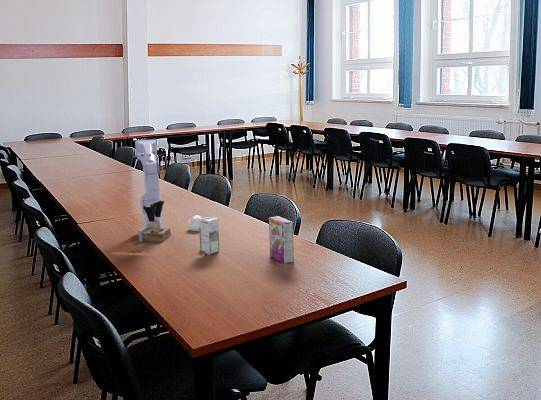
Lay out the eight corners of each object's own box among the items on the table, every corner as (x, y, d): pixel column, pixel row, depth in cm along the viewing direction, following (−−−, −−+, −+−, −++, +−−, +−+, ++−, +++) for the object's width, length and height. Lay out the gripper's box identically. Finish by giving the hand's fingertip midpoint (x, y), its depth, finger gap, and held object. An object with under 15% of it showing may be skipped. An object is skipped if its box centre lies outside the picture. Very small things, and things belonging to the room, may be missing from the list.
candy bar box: (269, 256, 223) (268, 217, 220) (279, 254, 226) (278, 215, 222) (283, 264, 214) (282, 223, 210) (294, 262, 216) (293, 221, 213)
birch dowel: (154, 234, 251) (153, 219, 249) (162, 235, 250) (161, 220, 249) (151, 237, 247) (150, 221, 246) (159, 237, 247) (158, 222, 245)
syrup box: (209, 249, 235) (208, 216, 232) (220, 251, 231) (218, 218, 228) (200, 252, 231) (198, 218, 227) (210, 255, 227) (208, 220, 224)
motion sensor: (186, 233, 259) (185, 217, 258) (191, 229, 267) (190, 213, 265) (202, 234, 258) (202, 218, 256) (207, 229, 265) (206, 214, 264)
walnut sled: (152, 234, 255) (151, 227, 254) (170, 235, 253) (170, 228, 252) (143, 241, 245) (142, 233, 244) (162, 241, 244) (162, 233, 243)
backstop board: (147, 236, 256) (146, 224, 255) (190, 237, 252) (189, 225, 251) (137, 243, 245) (136, 230, 244) (182, 245, 242) (181, 231, 240)
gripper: (150, 185, 252) (152, 215, 255) (137, 192, 238) (140, 223, 241) (165, 186, 251) (167, 215, 254) (153, 192, 237) (155, 223, 240)
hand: (154, 219), depth 247 cm, fingers open, 7 cm apart
